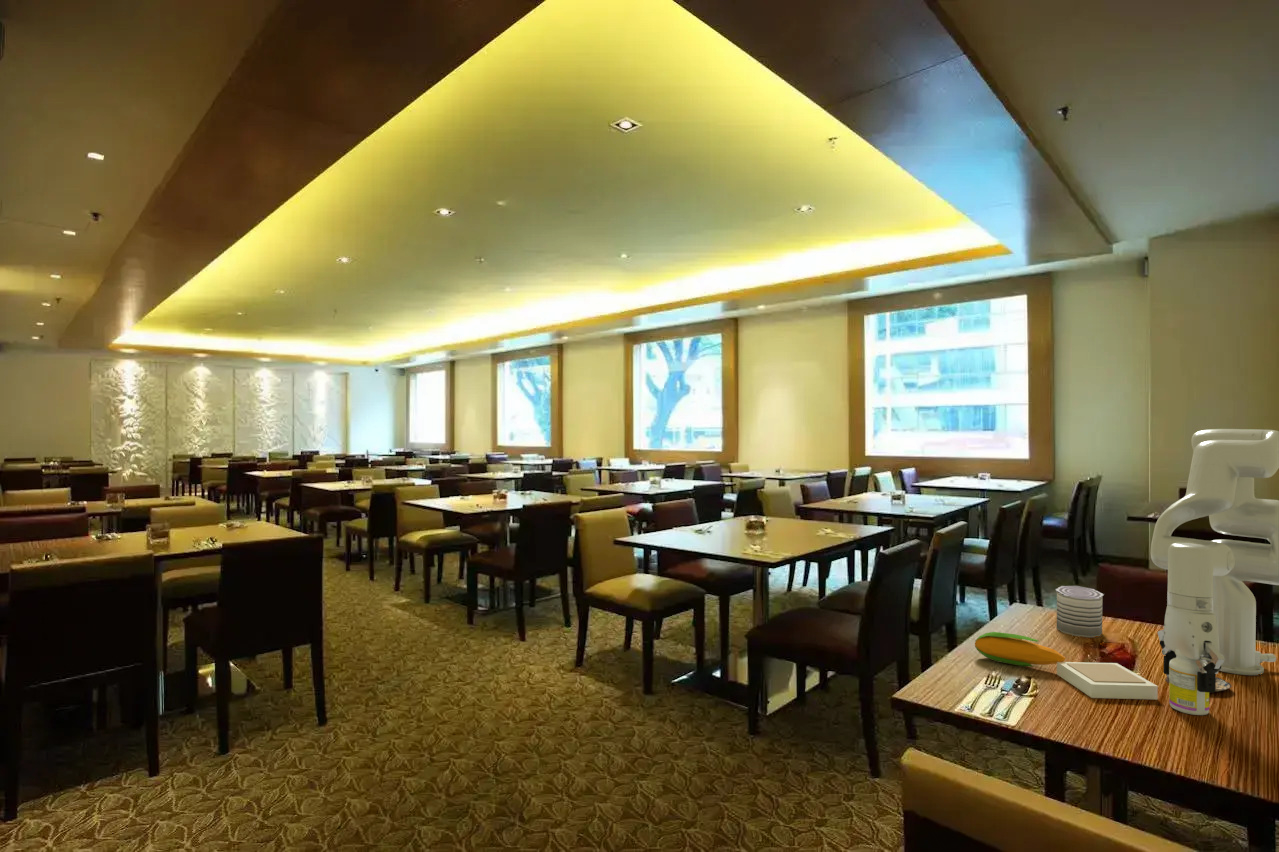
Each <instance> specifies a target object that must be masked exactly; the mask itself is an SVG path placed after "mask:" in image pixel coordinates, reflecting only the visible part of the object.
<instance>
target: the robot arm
mask: <svg viewBox="0 0 1279 852" xmlns="http://www.w3.org/2000/svg"><path fill="white" fill-rule="evenodd" d="M1190 442H1191V448H1192V451H1193V452H1192V459H1191V464H1190V469H1189V473H1188V474H1189V475H1188V479H1187V485H1186V492H1185V495H1184V496H1183V497H1182V498H1180V499H1178V500H1177V501H1175V502H1174V503H1172V504H1170V505H1169V507H1167V508H1166V509H1165V510H1164V511H1163V512H1162V513H1161V514H1160V516H1158V519H1157V521H1156V522H1155V525H1154V529H1153V532H1152V533H1153V534H1152V539H1151V544H1150V551H1149V552H1150V553H1149V554H1150V559H1151V561H1152V563H1153V564H1154V565H1155V566H1157V567H1158V568H1160V569H1163V570H1167V594H1166V595H1167V597H1166V598H1167V599H1166V601H1167V603H1166V605H1167V606H1166V609H1165V614H1164V621H1163V622H1164V624H1163V629H1161V630H1158V631H1157V636H1158V639H1159V645H1160V648H1161V649H1162V650H1161V653H1162V656H1163V668H1162V669H1163V674H1164V675H1169V662H1170V660H1171V659H1173V658H1176V654H1175V651H1176V649H1177V650H1179V651H1180V653H1181V654H1182V655H1184V656H1185V657H1187V658H1190V659H1192V660H1195V661H1196V663H1197V665H1198V667H1199V669H1200V672H1197V690H1198V691H1200V692H1209V693H1215V692H1216V691H1215V687H1216V677H1217V676H1216V675H1218V673H1219V671H1220V672H1223V673H1228V674H1234V675H1242V676H1259V675H1258V674H1260V675H1262V674H1264V672H1265V670H1264V669H1265V668H1264V666H1263V665H1261V663H1263V662H1267V663H1268V662H1269V663H1275V662H1276V661H1277V656H1276V655H1275V654H1274V653H1262V652H1260V651H1257V650H1256V635H1257V634H1256V627H1257V626H1256V625H1257V624H1256V622H1257V619H1256V618H1257V617H1256V616H1257V601H1256V597H1255V596H1254V594H1253V592H1252V591H1251V590H1250V588H1249V587H1248V586H1247V585H1246V584H1245V583H1244V582H1252V583H1259V584H1267V585H1273V586H1274V585H1275V586H1279V500H1278V499H1270V498H1269V499H1266V498H1256V496H1255V478H1256V479H1266V478H1267V479H1268V478H1271V477H1273V476H1274V475H1275V474H1276V473H1277V472H1278V470H1279V430H1274V429H1258V428H1257V429H1245V428H1242V429H1241V428H1240V429H1239V428H1211V429H1203V430H1198V431H1196V432H1194V433H1193V434H1192V436H1191V440H1190ZM1204 517H1208V518H1209V519H1208V520H1209V525H1210V527H1211V529H1212V530H1213V531H1214V532H1217V533H1219V534H1223V535H1229V536H1238V537H1247V538H1256V539H1264V540H1267V541H1268V542H1269V543H1270V544H1269V543H1261V542H1251V541H1243V540H1236V539H1235V540H1233V539H1222V538H1221V539H1213V540H1207V539H1206V540H1204V539H1198V538H1197V539H1196V538H1191V537H1189V538H1188V537H1180V536H1172V534H1173V532H1174V531H1175V530H1176V529H1177V528H1178V527H1179V526H1181V525H1182V524H1184V523H1187V522H1189V521H1192V520H1196V519H1199V518H1200V519H1201V518H1204ZM1200 656H1203V657H1200ZM1204 663H1205V664H1206V666H1205V665H1204ZM1261 673H1262V674H1261Z"/></svg>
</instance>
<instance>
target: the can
mask: <svg viewBox="0 0 1279 852" xmlns="http://www.w3.org/2000/svg"><path fill="white" fill-rule="evenodd" d="M1055 591H1056V629H1057V631H1059V630H1060V631H1059V632H1061V633H1062V634H1066V633H1067V635H1070V634H1071V636H1074V637H1081V636H1082V638H1096V637H1095V636H1100V635H1101V634H1102V635H1103V596H1104V595H1105V593H1102V592H1100V591H1098V590H1096V589H1094V588H1090V587H1084V586H1079V585H1061V586H1059V587H1057V588H1055ZM1102 635H1101V636H1102ZM1101 636H1100V637H1101Z"/></svg>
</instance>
